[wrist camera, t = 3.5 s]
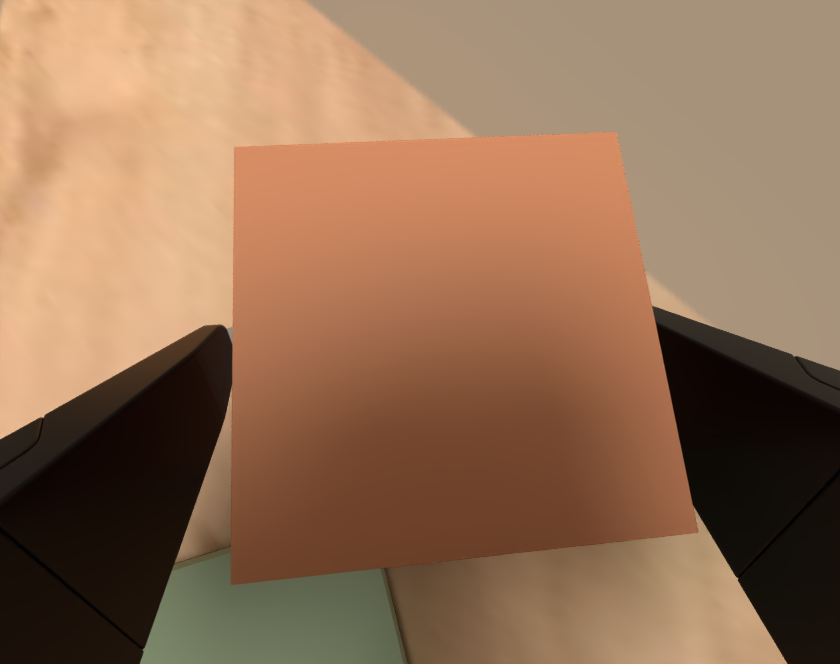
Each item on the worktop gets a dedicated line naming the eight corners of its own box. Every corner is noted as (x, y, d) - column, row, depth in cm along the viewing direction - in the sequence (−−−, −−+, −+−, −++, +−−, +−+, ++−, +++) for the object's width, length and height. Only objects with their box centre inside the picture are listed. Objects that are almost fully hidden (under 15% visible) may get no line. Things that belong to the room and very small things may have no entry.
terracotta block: (496, 448, 13) (699, 532, 4) (347, 462, 13) (230, 585, 4) (479, 305, 14) (616, 131, 5) (341, 315, 14) (234, 147, 5)
